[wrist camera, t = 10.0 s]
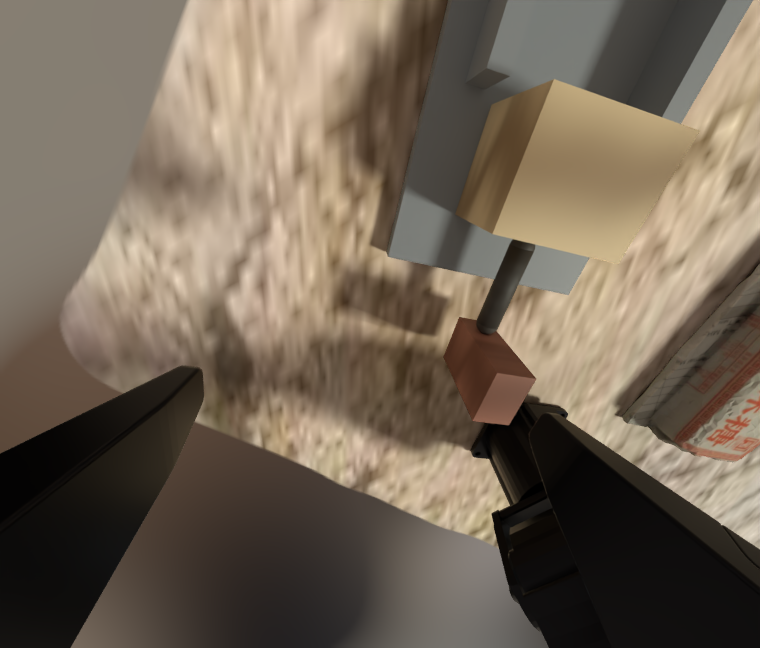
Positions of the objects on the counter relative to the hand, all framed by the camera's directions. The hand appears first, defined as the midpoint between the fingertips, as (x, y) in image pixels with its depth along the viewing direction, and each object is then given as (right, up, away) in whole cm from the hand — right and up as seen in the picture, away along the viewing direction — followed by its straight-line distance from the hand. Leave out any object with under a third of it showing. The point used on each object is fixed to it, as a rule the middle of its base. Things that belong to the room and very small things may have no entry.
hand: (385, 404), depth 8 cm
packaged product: (+29, +1, +17) cm, 33 cm away
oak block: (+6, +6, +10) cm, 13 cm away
